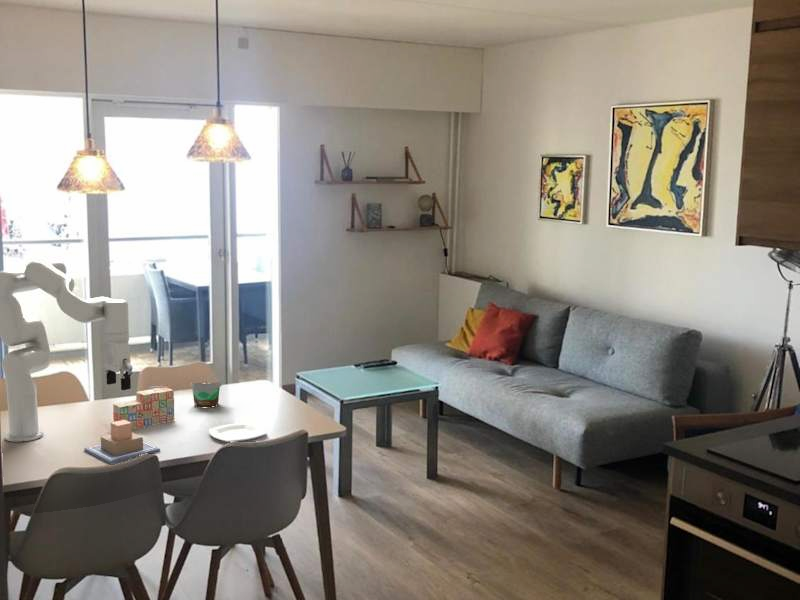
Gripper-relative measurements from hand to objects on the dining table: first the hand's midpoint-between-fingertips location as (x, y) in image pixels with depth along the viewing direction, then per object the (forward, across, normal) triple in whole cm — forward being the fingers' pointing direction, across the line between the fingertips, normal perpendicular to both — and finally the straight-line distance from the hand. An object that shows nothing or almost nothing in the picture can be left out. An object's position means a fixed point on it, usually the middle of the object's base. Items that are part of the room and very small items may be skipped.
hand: (118, 386), depth 284 cm
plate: (+23, +14, +38) cm, 46 cm away
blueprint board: (+22, +1, 0) cm, 22 cm away
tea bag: (+23, -33, +34) cm, 53 cm away
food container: (+23, -25, +51) cm, 61 cm away
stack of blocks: (+23, -21, +21) cm, 38 cm away
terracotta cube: (+17, +1, 0) cm, 17 cm away
